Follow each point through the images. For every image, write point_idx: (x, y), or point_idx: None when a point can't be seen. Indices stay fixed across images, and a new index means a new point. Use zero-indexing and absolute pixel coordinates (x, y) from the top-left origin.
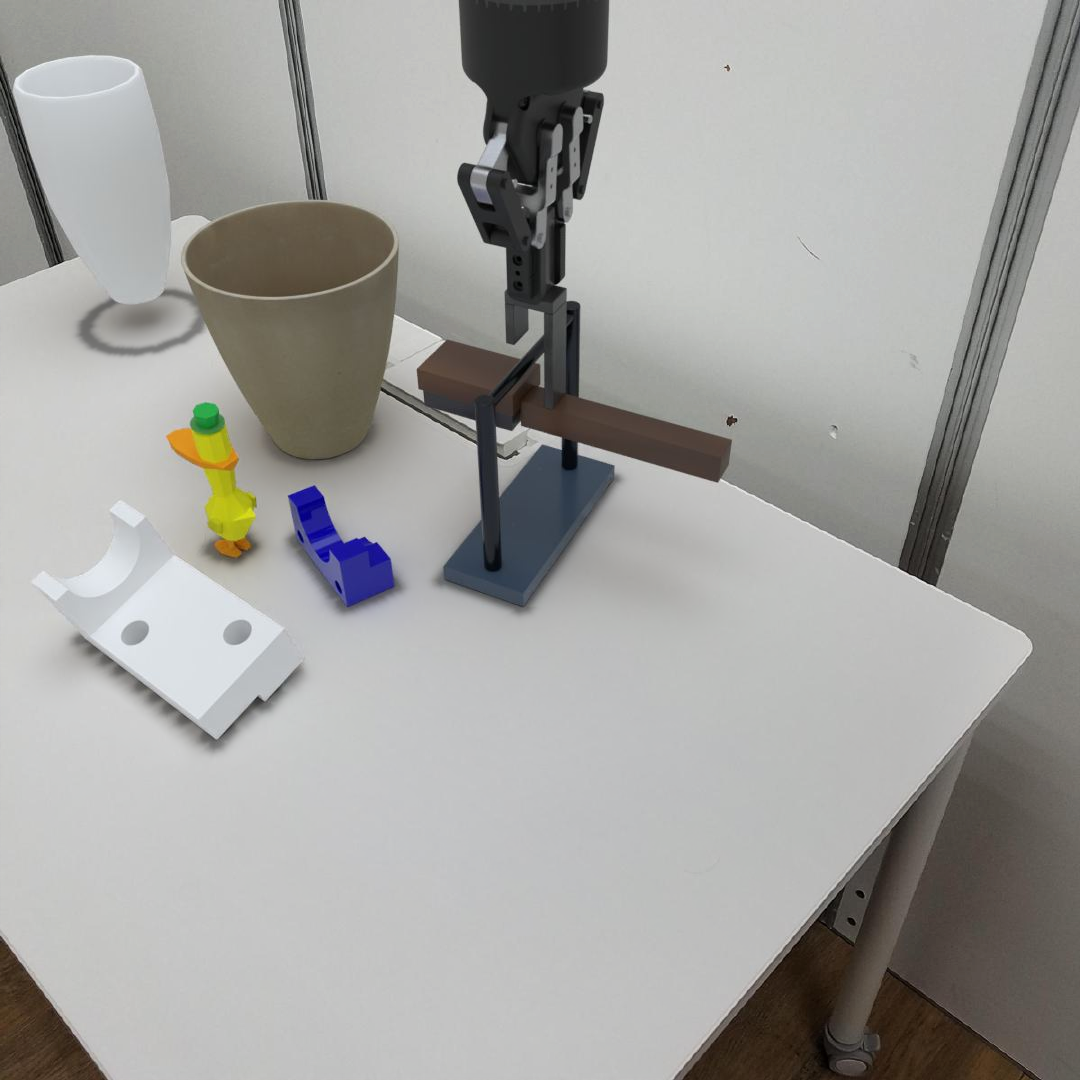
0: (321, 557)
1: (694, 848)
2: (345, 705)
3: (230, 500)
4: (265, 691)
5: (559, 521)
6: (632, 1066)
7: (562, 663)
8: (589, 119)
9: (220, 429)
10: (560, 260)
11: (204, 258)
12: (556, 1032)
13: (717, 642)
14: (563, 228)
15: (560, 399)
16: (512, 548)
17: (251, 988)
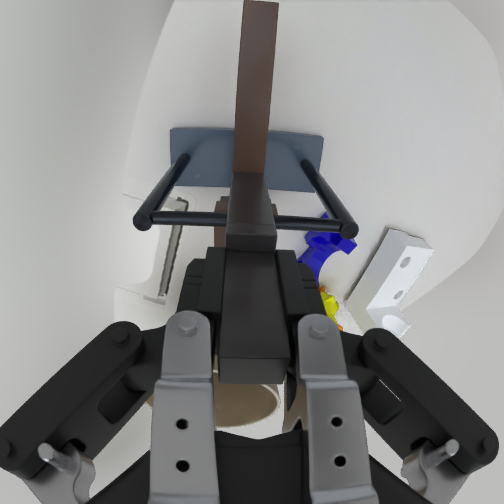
0: (329, 255)
1: (432, 29)
2: (403, 199)
3: (331, 311)
4: (406, 234)
5: None
6: (495, 59)
7: (356, 101)
8: (50, 455)
9: None
10: (223, 269)
11: (223, 414)
12: (494, 82)
13: (307, 19)
14: (207, 307)
15: (244, 172)
16: (285, 159)
17: (493, 180)
